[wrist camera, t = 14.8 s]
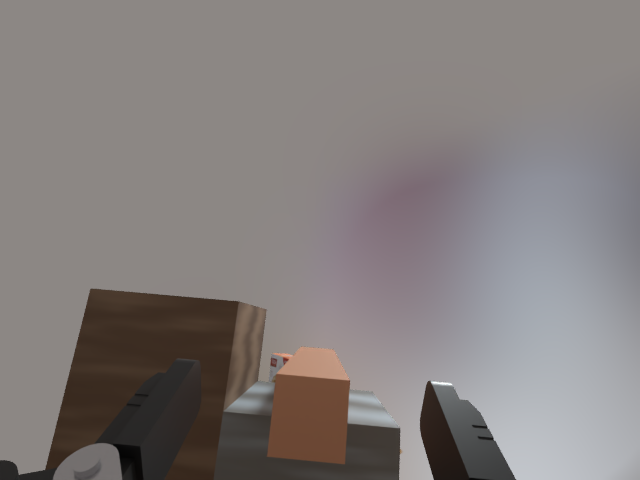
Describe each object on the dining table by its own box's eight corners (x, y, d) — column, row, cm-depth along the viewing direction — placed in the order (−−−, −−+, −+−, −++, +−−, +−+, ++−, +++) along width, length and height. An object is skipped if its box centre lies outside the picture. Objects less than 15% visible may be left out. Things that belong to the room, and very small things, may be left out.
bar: (345, 464, 17) (349, 380, 18) (267, 456, 17) (276, 373, 18) (331, 384, 41) (333, 349, 41) (297, 381, 41) (301, 346, 42)
